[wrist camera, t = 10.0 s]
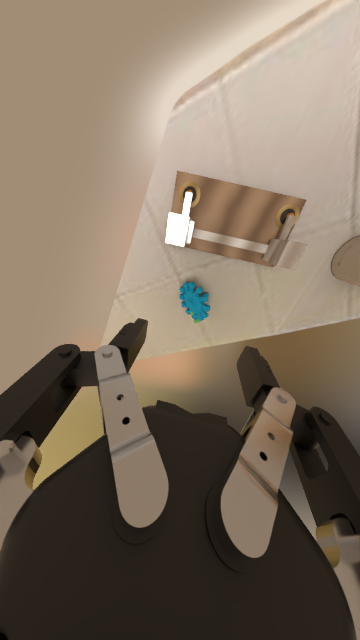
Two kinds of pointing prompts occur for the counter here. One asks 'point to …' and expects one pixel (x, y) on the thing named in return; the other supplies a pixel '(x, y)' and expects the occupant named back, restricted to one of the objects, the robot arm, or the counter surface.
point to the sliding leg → (180, 224)
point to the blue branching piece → (194, 301)
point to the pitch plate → (240, 220)
